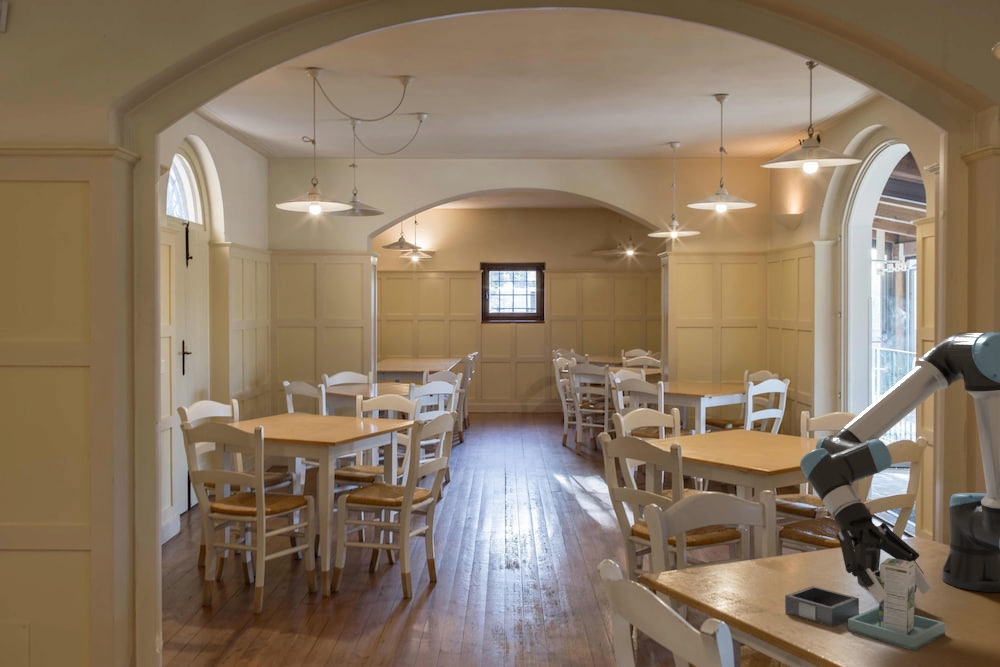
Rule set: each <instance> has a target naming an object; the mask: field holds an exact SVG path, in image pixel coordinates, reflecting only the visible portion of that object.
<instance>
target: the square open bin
mask: <svg viewBox="0 0 1000 667" xmlns="http://www.w3.org/2000/svg"><path fill="white" fill-rule="evenodd" d="M784 599H785V600H784V601H785V602H784V603H785V604H784V608H785V610H784V611H785V612H784V613H785V614H788V615H790V614H791V616H794V617H798V618H800V617H801V618H802V619H804V620H807V619H808V621H810V620H812V621H811V622H814V623H817V622H818V624H820V623H822V624H821V625H823V624H825V625H824V626H826V627H830V628H833V627H836V626H838V625H840V624H842V623H843V624H844V623H845V622H848V619H849V618H852V617H854V616H857V615H859V614H860V600H859V599H860V598H859V597H856V596H853V595H848V594H844V593H842V592H836V591H834V590H829V589H826V588H823V587H818V586H815V585H811V586H808V587H805V588H802V589H800V590H797V591H793V592H791V593H788V594H786V595H785V598H784Z"/></svg>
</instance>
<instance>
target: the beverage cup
mask: <svg viewBox="0 0 1000 667" xmlns="http://www.w3.org/2000/svg"><path fill="white" fill-rule="evenodd" d="M867 509H868V510H869V511H870V512H871V506H867ZM881 540H882V539H880V541H881ZM881 552H882V549H877V548H875V547H874V548H867V549H866V568H865V570H866V569H868V568H870V570H871V571H872V572H874V571H877V570H880V564H881V563H880V562H881V561H880V560H881ZM856 578H857V579H856V580H857V584H859V585H860V586H864V587H866V586H865V585H864V583H863V582H862V580H861V579H860V577H859V576H856Z"/></svg>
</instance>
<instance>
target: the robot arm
mask: <svg viewBox="0 0 1000 667" xmlns="http://www.w3.org/2000/svg"><path fill="white" fill-rule="evenodd" d="M914 366H915V367H914V368H912V369H911V370H910V371H909V372H908V373H906V374H905V375H904V376H902V378H900V379H899V380H898V381H897V382H896V383H894V384H893V385H892V386H891V387H889V388H888V389H887V390H886V391H885V392H883V394H881V395H880V396H879V397H878V398H877V399H876V400H874V401H873V402H871V404H870V405H868V406H867V407H866V408H864V409H863V410H861V412H860V413H859V414H858V415H857V416H855V417H854V418H853V419H852V420H850V421H849V422H848V423H847V424H846V425H844V426H843V427H841V429H839V431H837V432H836V433H834V434H833V435H832V434H831V435H825V436H822V437H821V438H820V439H818V441H817V442H816V445H815V448H814V449H813V450H811V451H809V452H807V453H806V454H805V455H804V456H803V457H802V458H801V460H800V463H799V467H800V469H801V470H802V473H803V475H804V476H805V477H806V478H805V479H806V480H807V482H809V484H810V486H811V487H812V488H813V489H814V491H815V492H816V494H817V495H818V497H819V498H820V500H821V502H822V503H823V504H824V506H825V508H826V509H827V510H828V512H829V513H830V516H832V517H833V518H834V521H835V523H836V524H837V526H838V528H839V529H840V531H839V532H838V533H837V534H836V535H835V536H836V539H837V540H838V542H839V544H840V549H841V553H842V557H843V558H842V559H843V562H844V566H845V571H846V572H847V573H848V574H852V576H853V577H855V578H857V576H859V577H860V579H861V580H862V582H863V583H864V585H865V586H864V587H866V588H867V589H868V590H869V592H870V593H871V595H872V596H873V599H874V600H875V601H876V603H877V604H879V603H881V602H882V601H883V600H884V599H885V598H887V597H888V595H887V594H886V592H885V591H884V589H883V588H882V586H881V585H880V583H879V582H878V580H877V579H876V577H875V576H874V574H873V573H872V571H871V570H870V568H868V569H866V570H865V568H866V549H867V548H874V547H875V548H877V549H881V551H883V552H885V553H886V554H888V555H890V556H891V557H892V558H893V559H900V560H905V561H909V562H912V563H914V564H915V584H916V586H917V589H918V590H919V592H920V593H921V594H922V595H925V594H927V593H928V592H929V591H930V590H931V589H933V586H932V584H931V583H930V581H929V579H928V578H927V577H926V576H925V575H924V571H923V570H922V568H921V567H920V566H919V564H918V563H917V562H916V560H917V559H918V558H919V557H920V554H919V552H918V551H916V550H915V549H914V548H913V547H911V546H910V545H909V544H908V543H906V542H905V541H904V540H903V539H902V538H901V537H900V536H898V535H897V534H896V533H895V532H893V530H892V529H891V528H890V527H889V525H887V524H886V523H885V522H882V523H880V525H878V526H877V525H876V524H875V523H874V522H873V515H872V512H871V510H870V511H869V510H868V506H866V504H865V503H863V500H862V498H861V497H860V495H859V494H858V493H857V491H856V489H855V488H854V486H853V485H852V483H855V482H857V481H861V480H863V479H866V478H868V477H871V476H873V475H876V474H880V473H881V472H883V471H885V470H887V469H889V468H891V465H892V462H893V459H892V454H891V452H890V450H889V448H888V446H887V445H886V444H885V443H884V442H883V441H882V440H880V439H881V437H883V436H884V435H885V434H886V433H887V432H888V431H890V430H891V429H892V428H893V427H895V426H896V425H897V424H898V423H899V422H900V421H902V420H903V419H904V418H906V417H907V416H908V415H909V414H910V413H912V412H913V411H914V410H915V409H916V408H918V407H919V406H920V405H921V404H922V403H923V402H924V401H926V400H927V399H928V398H929V397H930V396H932V395H933V394H934V393H936V392H937V391H938V390H946V389H947V388H948V387H949V386H951V385H953V384H954V383H956V382H958V381H960V380H963V384H964V391H965V392H966V393H968V394H969V395H970V396H972V398H973V405H974V410H975V417H976V425H977V432H978V438H979V447H980V452H981V461H982V469H983V475H984V482H985V490H986V493H985V492H958V493H957V492H956V493H953V494H952V495H951V497H950V498H949V499H950V500H949V506H948V510H949V551H948V554H947V556H946V560H945V562H944V564H943V568H942V571H941V572H942V573H941V579H942V581H943V582H944V583H946V584H948V585H950V586H953V587H956V588H960V589H963V590H967V591H968V590H970V591H975V592H984V593H1000V332H999V331H998V332H997V331H980V332H979V331H978V332H971V331H966V332H965V331H964V332H958V333H954V334H951V335H949V336H947V337H946V338H944V339H942V340H941V341H939V342H938V343H937V344H935V345H934V346H933V347H931V348H930V349H929V350H927V351H926V352H925V353H924V354H922V355H921V356H920V357H919V358H918V359H916V361H915V364H914ZM880 539H882V540H881V541H880ZM905 558H906V559H905Z"/></svg>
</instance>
